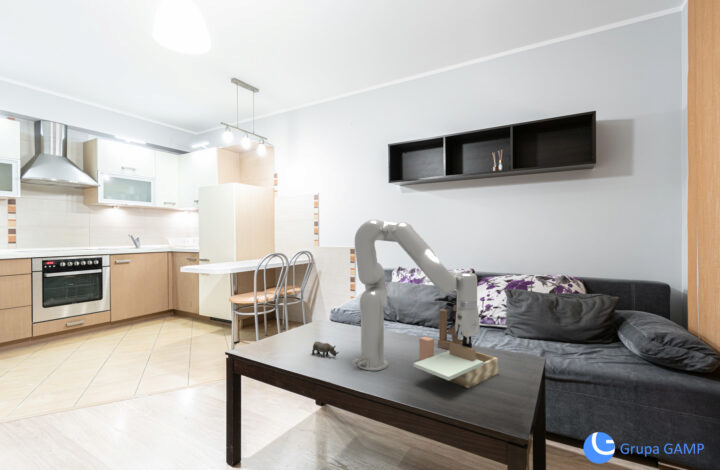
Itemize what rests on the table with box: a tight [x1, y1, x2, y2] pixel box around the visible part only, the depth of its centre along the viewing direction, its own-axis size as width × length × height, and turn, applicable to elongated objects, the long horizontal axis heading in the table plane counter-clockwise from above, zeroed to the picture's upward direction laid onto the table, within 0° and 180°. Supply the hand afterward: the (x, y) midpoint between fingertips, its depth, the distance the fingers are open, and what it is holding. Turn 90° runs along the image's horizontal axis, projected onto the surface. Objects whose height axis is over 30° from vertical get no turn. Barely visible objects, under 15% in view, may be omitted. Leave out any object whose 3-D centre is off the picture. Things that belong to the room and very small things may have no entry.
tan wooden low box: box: [437, 351, 499, 389], centre depth 125 cm, size 20×14×6 cm
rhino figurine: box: [311, 341, 340, 358], centre depth 145 cm, size 4×14×6 cm, turn 62°
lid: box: [413, 343, 483, 381], centre depth 118 cm, size 21×15×5 cm
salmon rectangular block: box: [418, 336, 435, 361], centre depth 138 cm, size 4×4×10 cm
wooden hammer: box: [437, 308, 462, 351], centre depth 155 cm, size 4×11×18 cm, turn 51°
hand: (467, 352), depth 126 cm, fingers closed
